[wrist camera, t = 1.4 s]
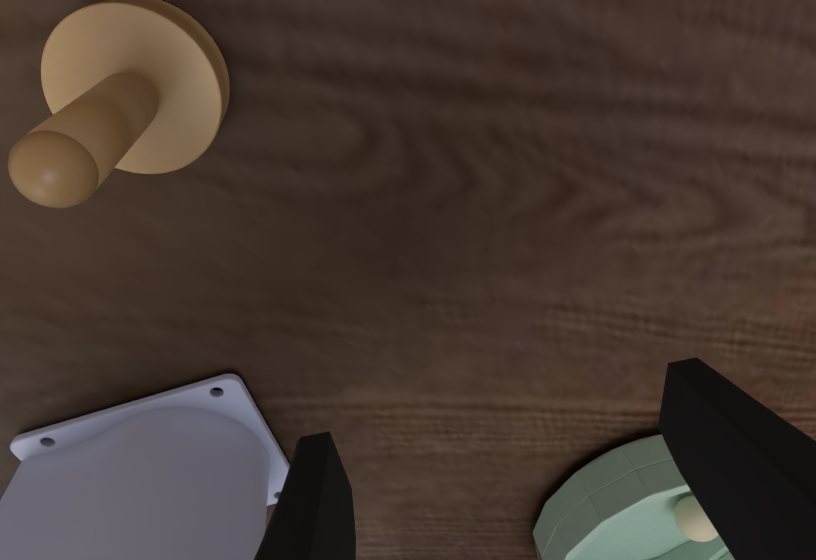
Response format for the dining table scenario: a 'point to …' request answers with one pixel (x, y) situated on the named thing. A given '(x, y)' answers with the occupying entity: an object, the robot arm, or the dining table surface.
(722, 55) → the dining table surface
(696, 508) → the ball
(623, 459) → the bowl
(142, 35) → the wooden rubber stamp
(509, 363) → the dining table surface
